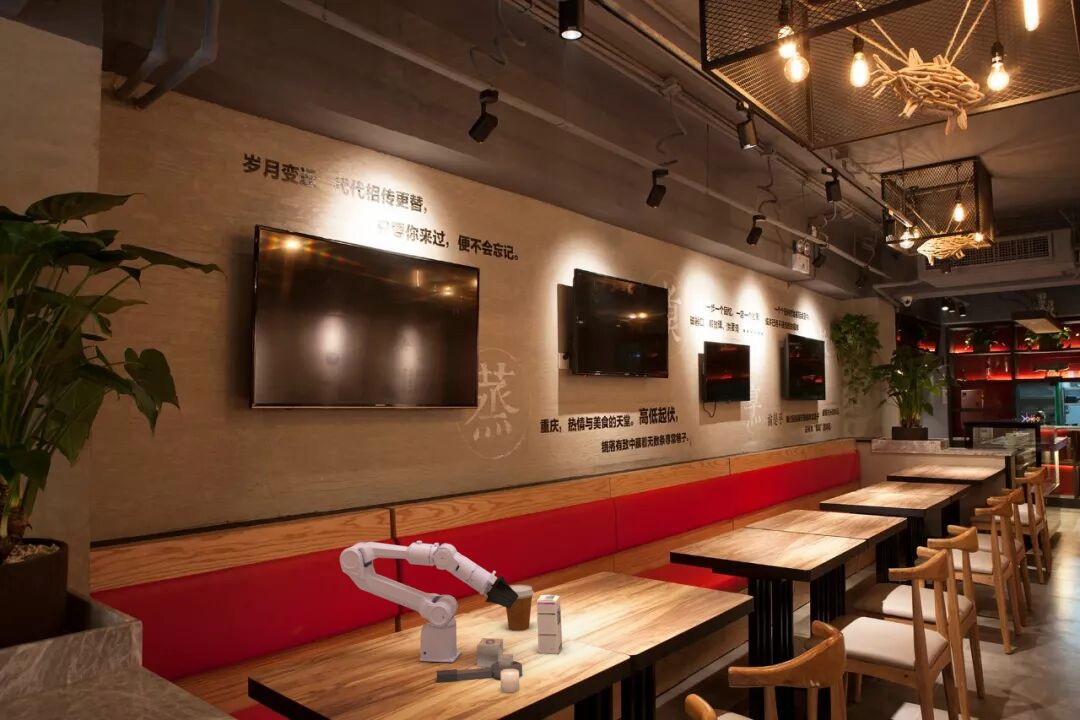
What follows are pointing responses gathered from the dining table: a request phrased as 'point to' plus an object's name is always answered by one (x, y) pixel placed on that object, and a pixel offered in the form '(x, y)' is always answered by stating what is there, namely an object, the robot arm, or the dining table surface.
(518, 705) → the dining table surface
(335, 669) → the dining table surface
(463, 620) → the dining table surface
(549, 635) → the syrup box
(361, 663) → the dining table surface
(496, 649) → the tan square block
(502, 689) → the pale pink cylinder
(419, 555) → the robot arm
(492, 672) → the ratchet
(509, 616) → the disposable coffee cup
